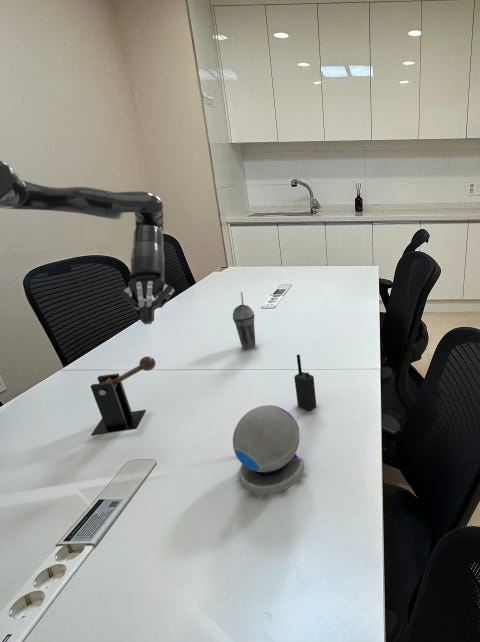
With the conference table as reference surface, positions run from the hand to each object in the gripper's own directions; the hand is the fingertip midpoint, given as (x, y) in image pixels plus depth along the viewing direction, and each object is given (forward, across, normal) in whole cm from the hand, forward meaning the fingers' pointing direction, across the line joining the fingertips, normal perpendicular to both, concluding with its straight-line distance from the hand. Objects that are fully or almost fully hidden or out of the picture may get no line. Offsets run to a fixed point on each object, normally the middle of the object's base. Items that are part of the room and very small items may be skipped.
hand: (146, 323), depth 95 cm
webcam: (+40, -27, +6) cm, 49 cm away
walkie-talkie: (+25, -36, -10) cm, 45 cm away
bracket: (+22, +10, -12) cm, 27 cm away
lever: (+13, +4, -4) cm, 14 cm away
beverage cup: (-6, -19, -40) cm, 45 cm away
